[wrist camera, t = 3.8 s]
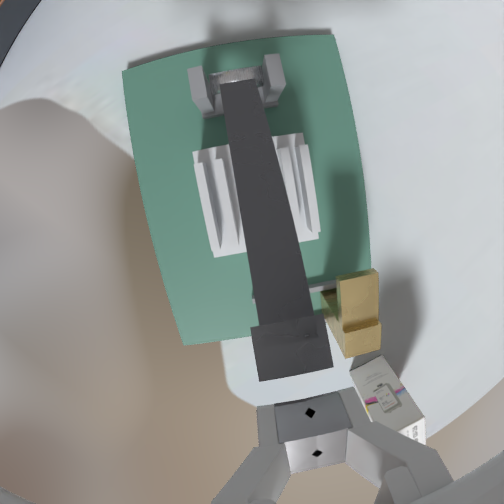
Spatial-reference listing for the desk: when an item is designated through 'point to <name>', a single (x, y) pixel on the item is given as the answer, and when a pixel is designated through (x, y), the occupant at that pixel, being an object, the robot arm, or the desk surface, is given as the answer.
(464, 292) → the desk surface
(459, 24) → the desk surface
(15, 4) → the storage bin
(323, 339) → the strap
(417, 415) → the ink cartridge box
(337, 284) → the hook
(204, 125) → the board
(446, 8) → the desk surface
